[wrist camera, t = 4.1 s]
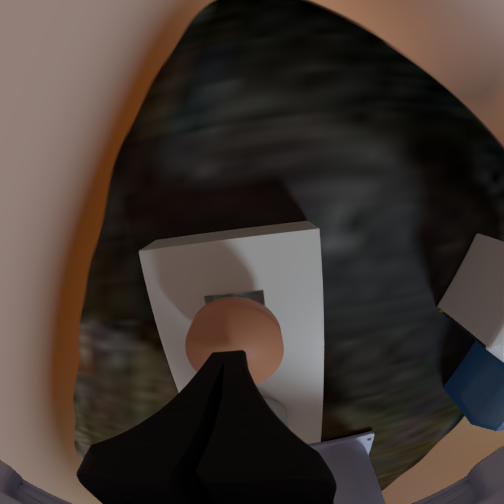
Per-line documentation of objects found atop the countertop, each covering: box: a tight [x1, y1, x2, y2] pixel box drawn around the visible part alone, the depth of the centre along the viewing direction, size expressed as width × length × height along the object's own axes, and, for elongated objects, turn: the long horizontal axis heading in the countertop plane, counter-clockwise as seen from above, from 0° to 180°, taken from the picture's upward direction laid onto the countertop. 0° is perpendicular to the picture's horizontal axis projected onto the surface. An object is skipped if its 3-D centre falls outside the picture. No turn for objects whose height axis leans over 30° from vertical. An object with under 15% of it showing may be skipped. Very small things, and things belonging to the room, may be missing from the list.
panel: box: [139, 221, 324, 444], centre depth 18 cm, size 17×10×3 cm, turn 7°
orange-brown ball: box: [185, 296, 284, 385], centre depth 14 cm, size 4×4×4 cm
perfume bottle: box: [443, 340, 504, 431], centre depth 15 cm, size 6×6×12 cm
